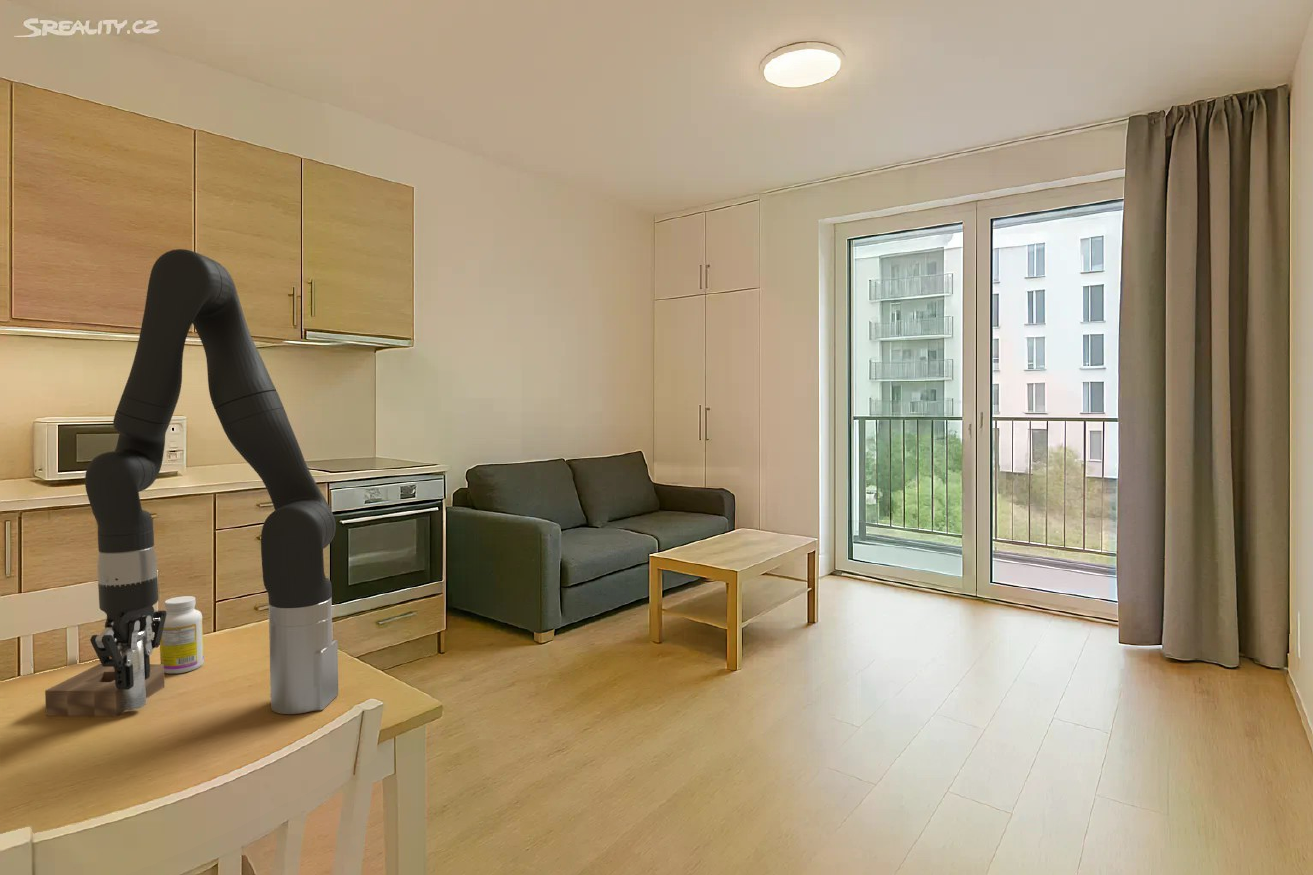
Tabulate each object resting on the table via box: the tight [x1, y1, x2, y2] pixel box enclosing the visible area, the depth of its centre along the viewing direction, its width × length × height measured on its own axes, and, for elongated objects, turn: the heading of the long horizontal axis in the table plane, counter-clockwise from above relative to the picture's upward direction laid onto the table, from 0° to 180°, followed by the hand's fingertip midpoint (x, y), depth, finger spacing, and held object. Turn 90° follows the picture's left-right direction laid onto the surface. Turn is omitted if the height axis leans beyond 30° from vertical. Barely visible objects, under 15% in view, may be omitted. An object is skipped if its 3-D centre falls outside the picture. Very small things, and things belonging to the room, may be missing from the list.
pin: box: [120, 630, 147, 711], centre depth 113 cm, size 4×4×12 cm
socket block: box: [44, 663, 165, 717], centre depth 117 cm, size 11×11×4 cm
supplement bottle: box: [159, 595, 205, 675], centre depth 131 cm, size 7×7×13 cm
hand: (133, 683), depth 113 cm, fingers closed on pin, 3 cm apart
